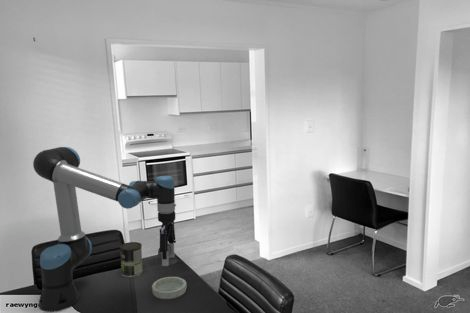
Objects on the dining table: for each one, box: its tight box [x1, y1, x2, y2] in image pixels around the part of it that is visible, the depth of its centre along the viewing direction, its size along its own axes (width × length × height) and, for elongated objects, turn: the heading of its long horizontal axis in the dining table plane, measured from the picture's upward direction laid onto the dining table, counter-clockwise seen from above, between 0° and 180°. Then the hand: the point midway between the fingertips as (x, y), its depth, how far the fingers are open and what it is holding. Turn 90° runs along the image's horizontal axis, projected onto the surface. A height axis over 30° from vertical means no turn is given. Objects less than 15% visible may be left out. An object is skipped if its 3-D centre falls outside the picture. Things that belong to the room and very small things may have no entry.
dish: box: [151, 276, 188, 300], centre depth 165 cm, size 15×15×3 cm
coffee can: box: [119, 241, 144, 278], centre depth 183 cm, size 10×10×14 cm
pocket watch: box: [157, 245, 178, 266], centre depth 163 cm, size 8×8×10 cm
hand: (168, 261), depth 163 cm, fingers closed on pocket watch, 8 cm apart
